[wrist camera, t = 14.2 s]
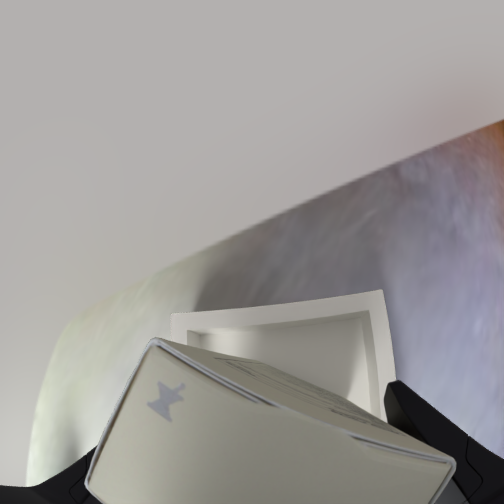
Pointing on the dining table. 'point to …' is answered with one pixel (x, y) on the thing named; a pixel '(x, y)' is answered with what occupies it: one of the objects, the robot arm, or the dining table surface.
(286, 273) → the dining table surface
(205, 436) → the skincare box
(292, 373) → the holder tray
